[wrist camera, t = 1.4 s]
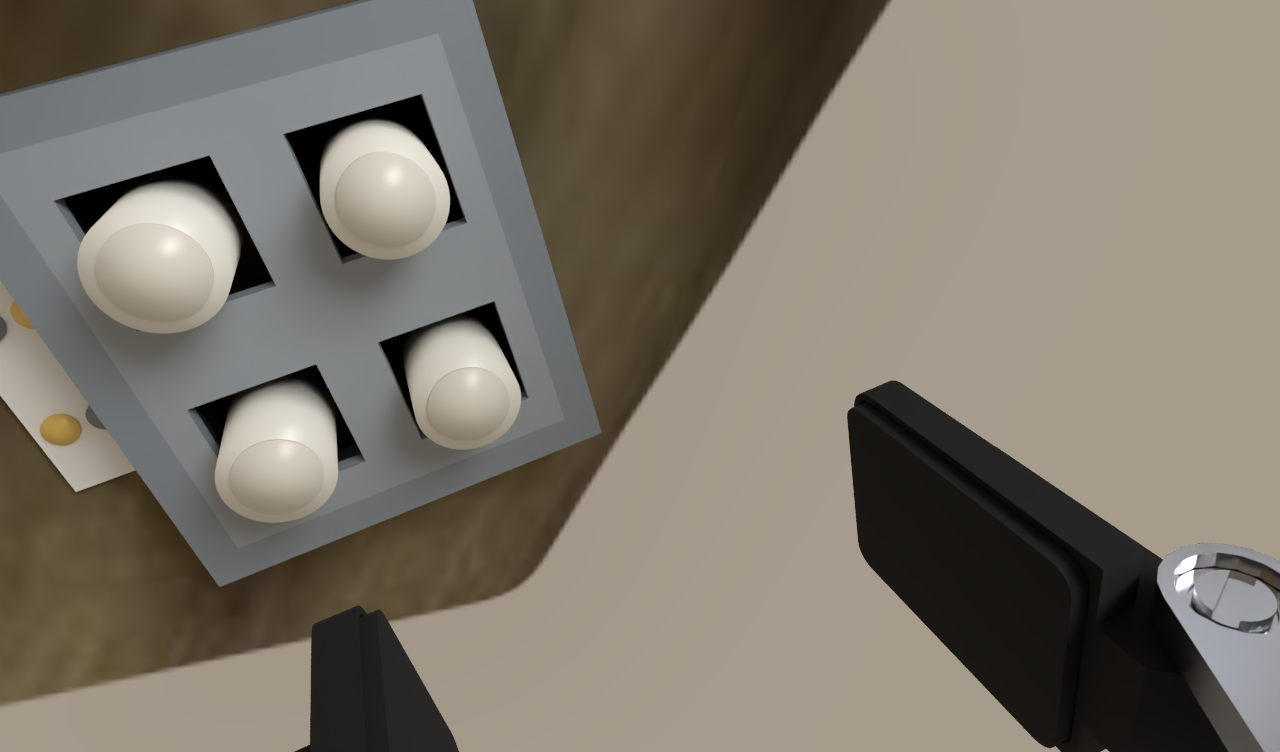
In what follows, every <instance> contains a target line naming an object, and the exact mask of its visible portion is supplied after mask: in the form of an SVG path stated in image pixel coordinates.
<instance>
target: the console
mask: <svg viewBox="0 0 1280 752" xmlns="http://www.w3.org/2000/svg"><path fill="white" fill-rule="evenodd" d="M420 94H421V97H422V100H423V102H424V105H425V108H426V111H427V114H428V117H429V119H430V122H431V125H432V128H433V131H434V134H435V137H436V139H437V142H438V145H439V148H440V151H441V154H442V156H443V159H444V162H445V165H446V168H447V171H448V174H449V176H450V179H451V182H452V185H453V188H454V191H455V193H456V196H457V199H458V202H459V205H460V208H461V211H462V213H463V216H464V218H462V219H459V220H456V221H453V222H450V223H447V224H445V226H444V228H443V230H442V231H441V233H440V234H439V236H438V237H437V238H436V240H435V241H433V242H432V243H431V244H430V245H429V246H428V247H427V248H425V249H424V250H422V251H420V252H419V253H417V254H414V255H412V256H409V257H405V258H401V259H394V260H384V259H376V258H372V257H368V256H365V255H363V254H360V253H356V254H353V255H350V256H347V257H343V258H341V256H340V253H339V251H338V249H337V247H336V245H335V242H334V240H333V238H332V236H331V234H330V231H329V229H328V227H327V225H326V223H325V220H324V218H323V216H322V214H321V211H320V209H319V207H318V205H317V203H316V200H315V198H314V196H313V194H312V192H311V189H310V187H309V185H308V183H307V180H306V178H305V176H304V174H303V172H302V169H301V167H300V165H299V163H298V161H297V158H296V156H295V154H294V152H293V150H292V147H291V145H290V143H289V141H288V138H287V136H286V134H285V133H289V132H292V131H296V130H299V129H303V128H306V127H309V126H313V125H316V124H320V123H323V122H327V121H330V120H334V119H337V118H341V117H344V116H347V115H351V114H354V113H358V112H361V111H365V110H368V109H372V108H375V107H378V106H382V105H385V104H389V103H392V102H396V101H399V100H403V99H406V98H409V97H413V96H416V95H420ZM209 155H210V157H211V159H212V161H213V163H214V165H215V167H216V169H217V171H218V173H219V175H220V177H221V179H222V181H223V183H224V185H225V187H226V189H227V191H228V193H229V195H230V197H231V199H232V201H233V202H234V204H235V206H236V208H237V210H238V212H239V214H240V216H241V218H242V220H243V222H244V224H245V226H246V228H247V230H248V232H249V234H250V236H251V238H252V240H253V242H254V244H255V246H256V247H257V249H258V251H259V253H260V255H261V257H262V259H263V261H264V263H265V265H266V267H267V269H268V271H269V273H270V275H271V277H272V279H273V281H270V282H267V283H264V284H261V285H258V286H255V287H252V288H249V289H246V290H243V291H240V292H237V293H234V294H231V295H228V297H227V300H226V301H225V303H224V305H223V306H222V308H221V309H220V310H219V312H218V313H217V314H216V315H215V316H214V317H212V318H211V319H210V320H208V321H207V322H205V323H204V324H202V325H200V326H198V327H195V328H193V329H190V330H187V331H183V332H177V333H165V334H162V333H151V332H145V331H141V330H137V329H133V328H131V327H128V326H126V325H123V324H121V323H119V322H117V321H116V320H114V319H112V318H111V317H109V316H108V315H106V314H105V313H104V312H103V311H102V310H100V309H99V308H98V307H97V306H96V305H95V304H94V303H93V301H92V300H91V299H90V297H89V296H88V295H87V293H86V291H85V289H84V288H83V286H82V283H81V281H80V278H79V273H78V267H77V258H78V251H79V248H80V244H81V242H82V240H83V238H84V236H85V235H86V234H87V232H88V230H87V228H86V227H85V225H84V223H83V222H82V220H81V219H80V217H79V215H78V214H77V212H76V211H75V209H74V207H73V206H72V204H71V203H70V201H69V199H68V198H67V197H68V196H72V195H75V194H78V193H82V192H85V191H89V190H92V189H96V188H99V187H103V186H106V185H109V184H113V183H116V182H120V181H123V180H127V179H130V178H134V177H137V176H141V175H144V174H147V173H151V172H154V171H158V170H161V169H165V168H168V167H172V166H175V165H178V164H182V163H185V162H189V161H192V160H196V159H199V158H203V157H206V156H209ZM0 281H1V282H2V284H3V285H4V287H5V288H6V289H7V291H8V292H9V294H10V295H11V296H12V298H13V299H14V301H15V302H16V303H17V305H18V306H19V308H20V309H21V310H22V312H23V313H24V315H25V316H26V317H27V319H28V320H29V322H30V323H31V324H32V326H33V327H34V329H35V330H36V331H37V333H38V334H39V336H40V337H41V338H42V340H43V341H44V343H45V344H46V345H47V347H48V348H49V350H50V351H51V352H52V354H53V355H54V357H55V358H56V359H57V361H58V362H59V364H60V365H61V366H62V368H63V369H64V370H65V372H66V373H67V375H68V376H69V377H70V379H71V380H72V382H73V383H74V384H75V386H76V387H77V389H78V390H79V391H80V393H81V394H82V396H83V397H84V398H85V400H86V401H87V403H88V404H89V405H90V407H91V408H92V410H93V411H94V412H95V414H96V415H97V417H98V418H99V419H100V421H101V422H102V424H103V425H104V426H105V428H106V429H107V431H108V432H109V433H110V435H111V436H112V438H113V439H114V440H115V442H116V443H117V445H118V446H119V447H120V449H121V450H122V452H123V453H124V454H125V456H126V457H127V459H128V460H129V461H130V463H131V464H132V466H133V467H134V468H135V470H136V471H137V473H138V474H139V475H140V477H141V478H142V480H143V481H144V482H145V484H146V485H147V487H148V488H149V489H150V491H151V492H152V494H153V495H154V496H155V498H156V499H157V501H158V502H159V503H160V505H161V506H162V507H163V509H164V510H165V512H166V513H167V514H168V516H169V517H170V519H171V520H172V521H173V523H174V524H175V526H176V527H177V528H178V530H179V531H180V533H181V534H182V535H183V537H184V538H185V540H186V541H187V542H188V544H189V545H190V547H191V548H192V549H193V551H194V552H195V554H196V555H197V556H198V558H199V559H200V561H201V562H202V563H203V565H204V566H205V568H206V569H207V570H208V572H209V573H210V575H211V576H212V577H213V579H214V580H215V582H216V583H217V584H218V586H219V587H221V586H224V585H226V584H229V583H231V582H234V581H236V580H239V579H241V578H244V577H246V576H249V575H251V574H254V573H256V572H258V571H261V570H263V569H266V568H268V567H271V566H273V565H276V564H278V563H281V562H283V561H286V560H288V559H291V558H293V557H296V556H298V555H301V554H303V553H306V552H308V551H311V550H313V549H315V548H318V547H320V546H323V545H325V544H328V543H330V542H333V541H335V540H338V539H340V538H343V537H345V536H348V535H350V534H353V533H355V532H358V531H360V530H363V529H365V528H368V527H370V526H373V525H375V524H377V523H380V522H382V521H385V520H387V519H390V518H392V517H395V516H397V515H400V514H402V513H405V512H407V511H410V510H412V509H415V508H417V507H420V506H422V505H425V504H427V503H430V502H432V501H434V500H437V499H439V498H442V497H444V496H447V495H449V494H452V493H454V492H457V491H459V490H462V489H464V488H467V487H469V486H472V485H474V484H477V483H479V482H482V481H484V480H487V479H489V478H491V477H494V476H496V475H499V474H501V473H504V472H506V471H509V470H511V469H514V468H516V467H519V466H521V465H524V464H526V463H529V462H531V461H534V460H536V459H539V458H541V457H544V456H546V455H548V454H551V453H553V452H556V451H558V450H561V449H563V448H566V447H568V446H571V445H573V444H576V443H578V442H581V441H583V440H586V439H588V438H591V437H593V436H596V435H598V434H601V433H602V432H601V429H600V425H599V422H598V418H597V415H596V412H595V408H594V405H593V402H592V398H591V395H590V392H589V388H588V385H587V382H586V378H585V375H584V372H583V368H582V365H581V362H580V358H579V355H578V352H577V348H576V345H575V342H574V338H573V335H572V332H571V328H570V325H569V321H568V318H567V315H566V311H565V308H564V305H563V301H562V298H561V295H560V291H559V288H558V285H557V281H556V278H555V275H554V271H553V268H552V265H551V261H550V258H549V255H548V251H547V248H546V245H545V241H544V238H543V234H542V231H541V228H540V224H539V221H538V218H537V214H536V211H535V208H534V204H533V201H532V198H531V194H530V191H529V188H528V184H527V181H526V178H525V174H524V171H523V168H522V164H521V161H520V158H519V154H518V151H517V147H516V144H515V141H514V137H513V134H512V131H511V127H510V124H509V121H508V117H507V114H506V111H505V107H504V104H503V101H502V97H501V94H500V91H499V87H498V84H497V81H496V77H495V74H494V71H493V67H492V64H491V61H490V57H489V54H488V50H487V47H486V44H485V40H484V37H483V34H482V30H481V27H480V24H479V20H478V17H477V14H476V10H475V7H474V4H473V0H359V1H355V2H351V3H347V4H344V5H340V6H336V7H332V8H328V9H324V10H321V11H317V12H313V13H309V14H305V15H301V16H297V17H294V18H290V19H286V20H282V21H278V22H274V23H271V24H267V25H263V26H259V27H255V28H251V29H247V30H244V31H240V32H236V33H232V34H228V35H224V36H220V37H217V38H213V39H209V40H205V41H201V42H197V43H194V44H190V45H186V46H182V47H178V48H174V49H170V50H167V51H163V52H159V53H155V54H151V55H147V56H143V57H140V58H136V59H132V60H128V61H124V62H120V63H117V64H113V65H109V66H105V67H101V68H97V69H93V70H90V71H86V72H82V73H78V74H74V75H70V76H66V77H63V78H59V79H55V80H51V81H47V82H43V83H40V84H36V85H32V86H28V87H24V88H20V89H16V90H13V91H9V92H5V93H1V94H0ZM491 302H494V304H495V307H496V310H497V313H498V316H499V319H500V322H501V324H502V327H503V330H504V333H505V336H506V339H507V341H508V344H509V347H510V350H511V353H512V356H513V359H514V361H515V364H516V367H517V370H518V373H519V376H520V378H521V381H520V382H518V384H519V387H520V392H521V405H520V409H519V413H518V415H517V417H516V419H515V421H514V423H513V424H512V426H511V427H510V428H509V429H508V431H507V432H505V433H504V434H503V435H502V436H501V437H500V438H498V439H497V440H495V441H493V442H492V443H490V444H487V445H485V446H482V447H479V448H474V449H467V450H458V449H451V448H447V447H444V446H441V445H439V444H437V443H435V442H433V441H432V440H431V439H429V438H428V437H427V436H426V435H425V434H424V433H423V432H422V430H421V429H420V427H419V425H418V424H417V421H415V419H414V417H413V415H412V413H411V411H410V408H409V406H408V404H407V402H406V399H405V397H404V395H403V393H402V391H401V388H400V386H399V384H398V382H397V380H396V377H395V375H394V373H393V371H392V369H391V366H390V364H389V362H388V360H387V357H386V355H385V353H384V351H383V349H382V346H381V344H380V341H383V340H386V339H389V338H392V337H395V336H397V335H400V334H403V333H406V332H409V331H412V330H414V329H417V328H420V327H423V326H426V325H428V324H431V323H434V322H437V321H440V320H443V319H445V318H448V317H451V316H454V315H457V314H460V313H462V312H465V311H468V310H471V309H474V308H476V307H479V306H482V305H485V304H488V303H491ZM313 365H317V367H318V369H319V371H320V373H321V375H322V377H323V379H324V381H325V383H326V385H327V387H328V388H329V390H330V392H331V394H332V396H333V398H334V400H335V402H336V404H337V406H338V408H339V410H340V412H341V414H342V416H343V418H344V420H345V422H346V424H347V426H348V428H349V430H350V432H351V433H352V435H353V437H354V439H355V441H356V443H357V444H354V445H352V446H349V447H346V448H344V449H341V450H339V451H337V458H338V479H337V484H336V487H335V489H334V491H333V493H332V495H331V496H330V497H329V499H328V500H327V501H326V502H325V503H324V504H323V505H322V506H321V507H320V508H318V509H317V510H316V511H314V512H312V513H311V514H309V515H307V516H305V517H302V518H299V519H296V520H292V521H288V522H280V523H268V522H260V521H255V520H252V519H249V518H246V517H244V516H242V515H240V514H238V513H236V512H235V511H233V510H232V509H231V508H229V507H228V506H227V505H226V504H225V502H224V501H223V500H222V499H221V497H220V495H219V493H218V491H217V488H216V485H215V469H216V464H217V459H218V455H219V450H220V446H221V442H220V441H219V439H218V437H217V436H216V434H215V433H214V431H213V429H212V428H211V426H210V425H209V423H208V421H207V420H206V418H205V417H204V415H203V413H202V412H201V410H200V409H199V407H198V406H200V405H203V404H205V403H208V402H211V401H214V400H217V399H220V398H222V397H225V396H228V395H231V394H234V393H237V392H239V391H242V390H245V389H248V388H251V387H253V386H256V385H259V384H262V383H265V382H268V381H270V380H273V379H276V378H279V377H282V376H285V375H287V374H290V373H293V372H296V371H299V370H301V369H304V368H307V367H310V366H313Z"/></svg>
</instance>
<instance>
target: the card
mask: <svg viewBox="0 0 1280 752" xmlns="http://www.w3.org/2000/svg"><path fill="white" fill-rule="evenodd" d="M0 396H1V397H2V398H3V400H4V401H5V402H6V403H7V405H8V406H9V407H10V409H11V410H12V411H13V412H14V414H15V415H16V416H17V418H18V419H19V420H20V421H21V423H22V424H23V425H24V426H25V428H26V429H27V430H28V432H29V433H30V434H31V435H32V437H33V438H34V439H35V441H36V442H37V443H38V444H39V446H40V447H41V448H42V449H43V451H44V452H45V453H46V455H47V456H48V457H49V458H50V460H51V461H52V462H53V464H54V465H55V466H56V467H57V469H58V470H59V471H60V472H61V474H62V475H63V476H64V478H65V479H66V480H67V481H68V483H69V484H70V485H71V487H72V488H73V489H74V490H75V492H77V491H80V490H83V489H86V488H88V487H91V486H94V485H97V484H99V483H102V482H105V481H108V480H110V479H113V478H116V477H119V476H121V475H124V474H127V473H130V472H132V471H135V468H134V467H133V466H132V464H131V463H130V461H129V460H128V459H127V457H126V456H125V454H124V453H123V452H122V450H121V449H120V447H119V446H118V445H117V443H116V442H115V440H114V439H113V438H112V436H111V435H110V433H109V432H108V431H107V429H106V428H105V426H104V425H103V424H102V422H101V421H100V419H99V418H98V417H97V415H96V414H95V412H94V411H93V410H92V408H91V407H90V405H89V404H88V403H87V401H86V400H85V398H84V397H83V396H82V394H81V393H80V391H79V390H78V389H77V387H76V386H75V384H74V383H73V382H72V380H71V379H70V377H69V376H68V375H67V373H66V372H65V370H64V369H63V368H62V366H61V365H60V364H59V362H58V361H57V359H56V358H55V357H54V355H53V354H52V352H51V351H50V350H49V348H48V347H47V345H46V344H45V343H44V341H43V340H42V338H41V337H40V336H39V334H38V333H37V331H36V330H35V329H34V327H33V326H32V324H31V323H30V322H29V320H28V319H27V317H26V316H25V315H24V313H23V312H22V310H21V309H20V308H19V306H18V305H17V303H16V302H15V301H14V299H13V298H12V296H11V295H10V294H9V292H8V291H7V289H6V288H5V287H4V285H3V284H2V282H1V281H0Z"/></svg>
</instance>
